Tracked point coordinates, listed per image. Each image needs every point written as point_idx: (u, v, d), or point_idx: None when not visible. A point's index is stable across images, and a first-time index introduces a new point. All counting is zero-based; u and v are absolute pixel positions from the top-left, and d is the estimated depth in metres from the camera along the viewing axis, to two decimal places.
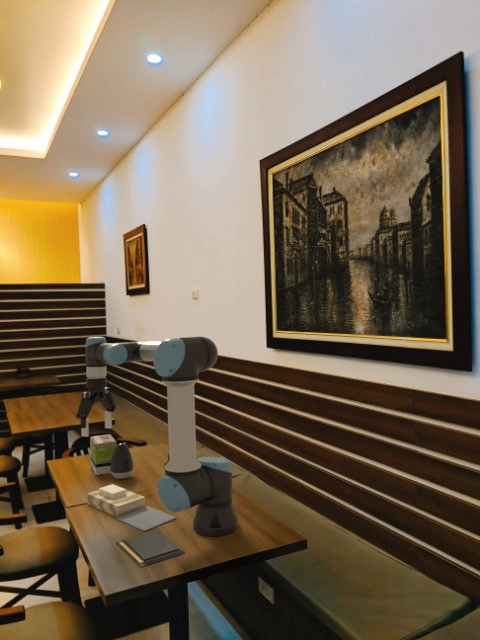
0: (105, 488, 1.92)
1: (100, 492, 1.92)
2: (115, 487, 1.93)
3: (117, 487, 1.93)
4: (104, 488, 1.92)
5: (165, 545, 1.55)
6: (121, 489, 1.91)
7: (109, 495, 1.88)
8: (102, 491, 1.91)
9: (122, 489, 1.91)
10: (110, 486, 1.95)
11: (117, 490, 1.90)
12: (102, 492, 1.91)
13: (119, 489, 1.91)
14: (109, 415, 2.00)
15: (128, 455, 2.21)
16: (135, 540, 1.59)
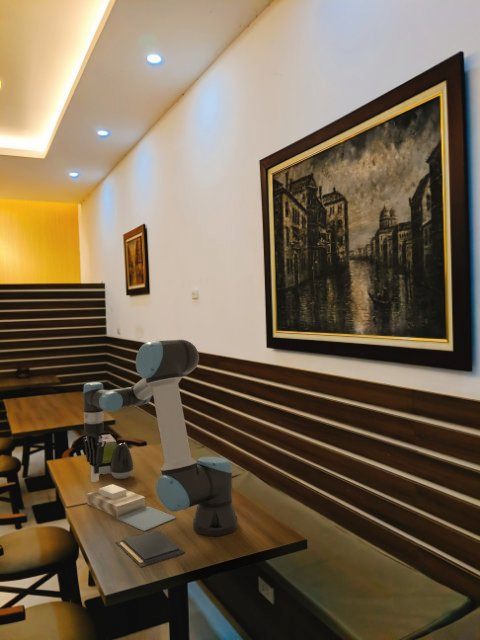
0: (105, 488, 1.92)
1: (100, 492, 1.92)
2: (115, 487, 1.93)
3: (117, 487, 1.93)
4: (104, 488, 1.92)
5: (165, 545, 1.55)
6: (121, 489, 1.91)
7: (109, 495, 1.88)
8: (102, 491, 1.91)
9: (122, 489, 1.91)
10: (110, 486, 1.95)
11: (117, 490, 1.90)
12: (102, 492, 1.91)
13: (119, 489, 1.91)
14: None
15: (128, 455, 2.21)
16: (135, 540, 1.59)
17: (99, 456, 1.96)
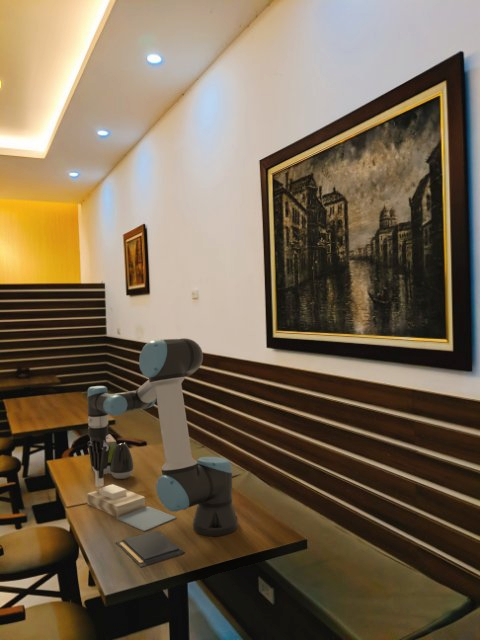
0: (105, 488, 1.92)
1: (100, 492, 1.92)
2: (115, 487, 1.93)
3: (117, 487, 1.93)
4: (104, 488, 1.92)
5: (165, 545, 1.55)
6: (121, 489, 1.91)
7: (109, 495, 1.88)
8: (102, 491, 1.91)
9: (122, 489, 1.91)
10: (110, 486, 1.95)
11: (117, 490, 1.90)
12: (102, 492, 1.91)
13: (119, 489, 1.91)
14: None
15: (128, 455, 2.21)
16: (135, 540, 1.59)
17: (104, 461, 1.94)
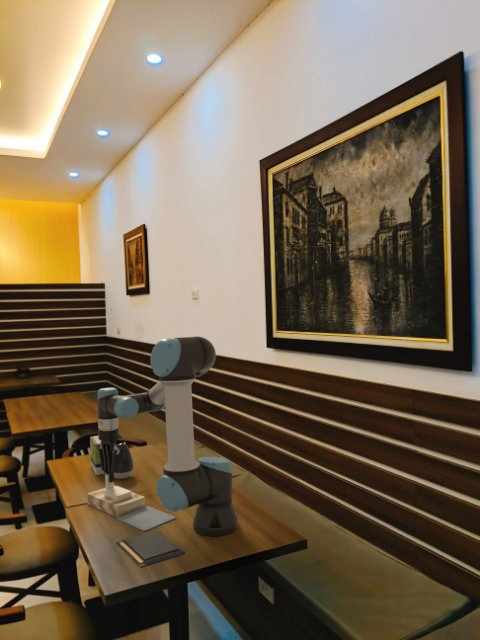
0: (110, 490, 1.90)
1: (105, 494, 1.90)
2: (120, 489, 1.91)
3: (122, 489, 1.91)
4: (110, 490, 1.90)
5: (165, 545, 1.55)
6: (127, 491, 1.89)
7: (114, 497, 1.86)
8: (107, 493, 1.89)
9: (127, 491, 1.89)
10: (115, 488, 1.92)
11: (122, 492, 1.88)
12: (107, 494, 1.89)
13: (124, 491, 1.89)
14: None
15: (128, 455, 2.21)
16: (135, 540, 1.59)
17: (114, 464, 1.90)
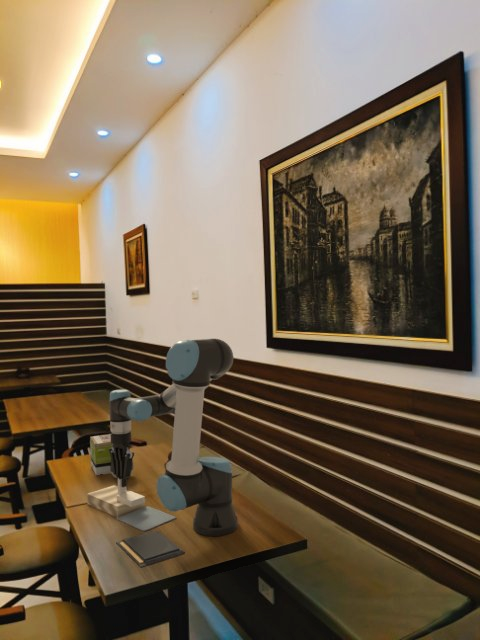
0: (123, 495, 1.85)
1: (118, 499, 1.84)
2: (133, 494, 1.86)
3: (135, 494, 1.86)
4: (122, 495, 1.85)
5: (165, 545, 1.55)
6: (140, 496, 1.83)
7: (127, 503, 1.80)
8: (120, 498, 1.83)
9: (141, 496, 1.83)
10: (128, 493, 1.87)
11: (136, 497, 1.82)
12: (120, 499, 1.83)
13: (138, 496, 1.83)
14: None
15: None
16: (135, 540, 1.59)
17: (127, 468, 1.84)
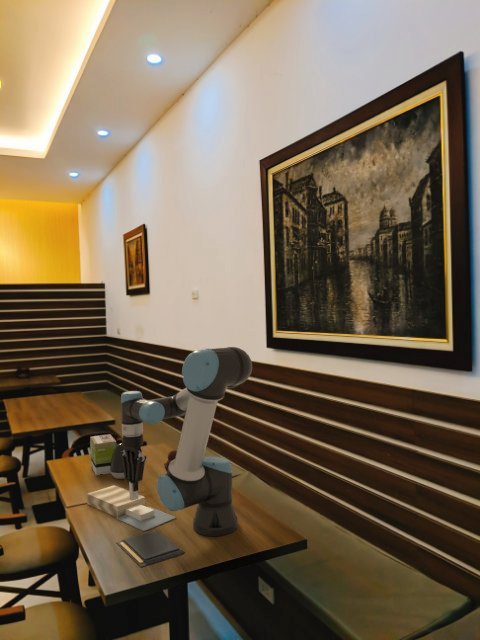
0: (132, 508, 1.81)
1: (126, 513, 1.81)
2: (142, 507, 1.82)
3: (144, 507, 1.82)
4: (131, 509, 1.81)
5: (165, 545, 1.55)
6: (149, 509, 1.80)
7: (137, 516, 1.77)
8: (129, 512, 1.80)
9: (150, 510, 1.80)
10: (137, 506, 1.83)
11: (145, 511, 1.79)
12: (129, 513, 1.80)
13: (147, 510, 1.80)
14: None
15: None
16: (135, 540, 1.59)
17: (139, 472, 1.79)
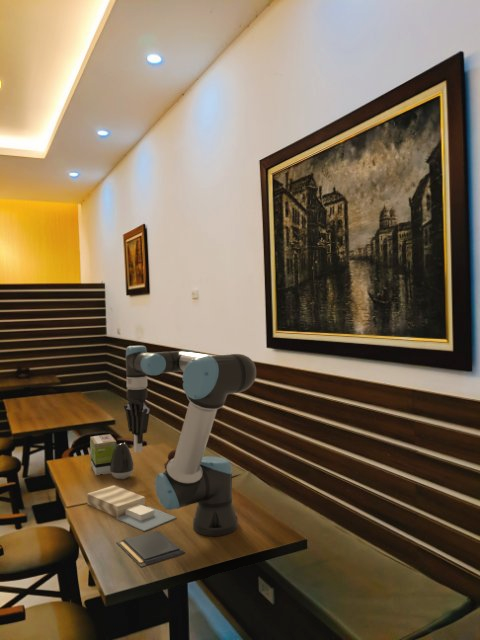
0: (132, 508, 1.81)
1: (126, 513, 1.81)
2: (142, 507, 1.82)
3: (144, 507, 1.82)
4: (131, 509, 1.81)
5: (165, 545, 1.55)
6: (149, 509, 1.80)
7: (137, 516, 1.77)
8: (129, 512, 1.80)
9: (150, 510, 1.80)
10: (137, 506, 1.83)
11: (145, 511, 1.79)
12: (129, 513, 1.80)
13: (147, 510, 1.80)
14: None
15: (128, 455, 2.21)
16: (135, 540, 1.59)
17: (144, 424, 1.82)
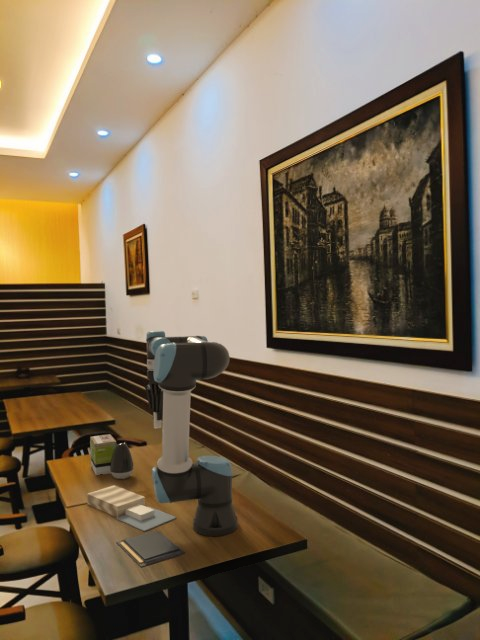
0: (132, 508, 1.81)
1: (126, 513, 1.81)
2: (142, 507, 1.82)
3: (144, 507, 1.82)
4: (131, 509, 1.81)
5: (165, 545, 1.55)
6: (149, 509, 1.80)
7: (137, 516, 1.77)
8: (129, 512, 1.80)
9: (150, 510, 1.80)
10: (137, 506, 1.83)
11: (145, 511, 1.79)
12: (129, 513, 1.80)
13: (147, 510, 1.80)
14: None
15: (128, 455, 2.21)
16: (136, 540, 1.59)
17: (163, 402, 1.99)
